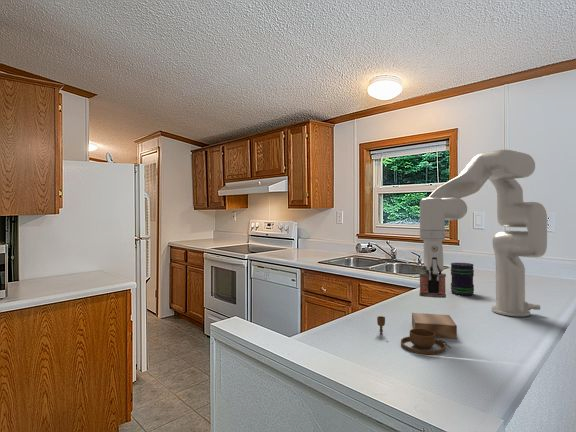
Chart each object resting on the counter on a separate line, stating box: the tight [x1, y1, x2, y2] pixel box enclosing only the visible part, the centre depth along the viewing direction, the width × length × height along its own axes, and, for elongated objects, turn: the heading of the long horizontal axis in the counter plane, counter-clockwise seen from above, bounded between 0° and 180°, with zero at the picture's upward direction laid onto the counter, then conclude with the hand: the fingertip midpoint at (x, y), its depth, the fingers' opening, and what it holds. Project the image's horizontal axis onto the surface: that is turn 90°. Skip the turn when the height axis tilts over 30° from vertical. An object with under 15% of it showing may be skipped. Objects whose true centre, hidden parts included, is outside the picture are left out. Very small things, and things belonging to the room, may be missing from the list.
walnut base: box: [411, 312, 458, 340], centre depth 113 cm, size 12×12×4 cm
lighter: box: [418, 265, 447, 299], centre depth 113 cm, size 8×3×10 cm, turn 71°
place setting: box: [376, 315, 452, 356], centre depth 103 cm, size 18×20×6 cm
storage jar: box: [450, 262, 475, 297], centre depth 165 cm, size 10×10×15 cm
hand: (432, 291), depth 113 cm, fingers closed on lighter, 3 cm apart
